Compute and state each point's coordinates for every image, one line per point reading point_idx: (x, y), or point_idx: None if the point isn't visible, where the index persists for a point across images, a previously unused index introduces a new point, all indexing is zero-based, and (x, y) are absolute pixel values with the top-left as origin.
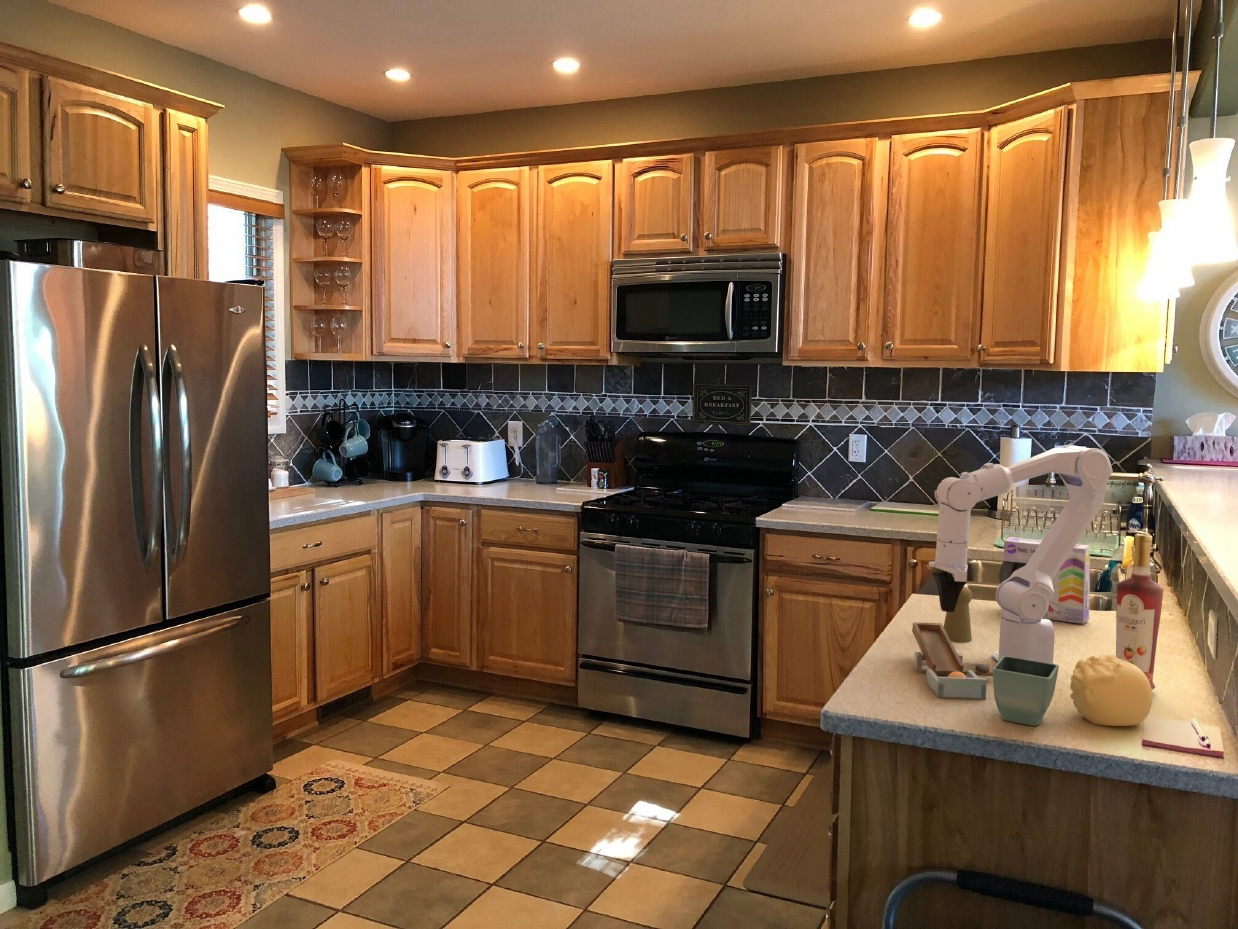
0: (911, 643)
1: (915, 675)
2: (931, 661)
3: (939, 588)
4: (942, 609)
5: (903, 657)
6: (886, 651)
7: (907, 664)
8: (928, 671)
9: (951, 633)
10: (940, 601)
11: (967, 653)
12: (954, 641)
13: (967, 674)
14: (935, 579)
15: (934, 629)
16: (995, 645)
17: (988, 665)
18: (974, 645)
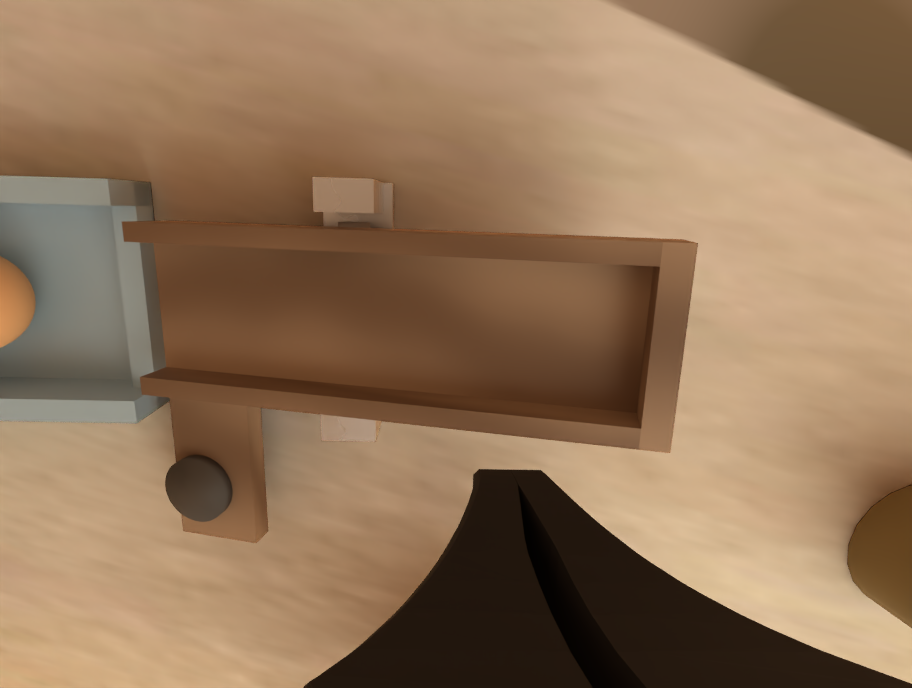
0: (853, 297)
1: (263, 157)
2: (155, 223)
3: (575, 590)
4: (484, 473)
5: (589, 179)
6: (707, 107)
7: (459, 167)
8: (65, 177)
9: (909, 530)
10: (536, 500)
11: (662, 522)
12: (861, 520)
13: (134, 393)
14: (750, 656)
15: (639, 387)
16: None
17: (241, 528)
18: (792, 589)
